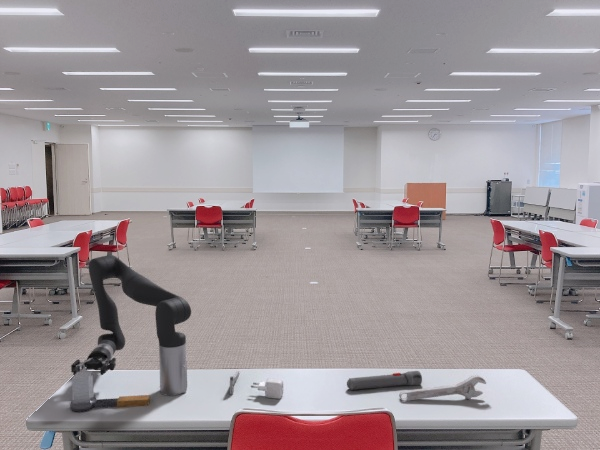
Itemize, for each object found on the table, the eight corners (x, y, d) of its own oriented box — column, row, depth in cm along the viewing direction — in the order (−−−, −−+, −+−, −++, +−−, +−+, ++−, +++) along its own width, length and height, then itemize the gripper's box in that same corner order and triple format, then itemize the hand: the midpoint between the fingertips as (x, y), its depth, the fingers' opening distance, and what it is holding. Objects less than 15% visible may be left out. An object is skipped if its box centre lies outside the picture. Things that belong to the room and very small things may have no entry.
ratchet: (151, 397, 167) (150, 382, 166) (147, 408, 159) (146, 392, 158) (74, 402, 163) (74, 386, 163) (67, 413, 155) (66, 396, 155)
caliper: (232, 396, 169) (232, 378, 168) (229, 396, 169) (229, 378, 168) (239, 373, 189) (239, 357, 189) (237, 373, 189) (236, 357, 189)
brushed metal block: (93, 397, 162) (92, 371, 162) (89, 403, 157) (88, 377, 157) (78, 398, 162) (77, 372, 161) (73, 404, 157) (72, 378, 156)
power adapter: (249, 397, 167) (249, 380, 167) (254, 391, 172) (254, 375, 172) (280, 400, 165) (280, 384, 164) (284, 394, 169) (284, 378, 169)
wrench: (400, 406, 167) (485, 396, 167) (401, 409, 165) (487, 398, 165) (398, 384, 166) (483, 374, 167) (399, 386, 164) (485, 376, 165)
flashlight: (345, 388, 176) (345, 374, 175) (416, 381, 182) (416, 368, 181) (349, 393, 171) (350, 380, 170) (422, 386, 177) (422, 373, 176)
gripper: (80, 347, 180) (66, 363, 164) (120, 345, 182) (109, 361, 166) (81, 366, 181) (66, 384, 165) (120, 364, 183) (110, 382, 167)
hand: (88, 373), depth 165 cm, fingers open, 8 cm apart
